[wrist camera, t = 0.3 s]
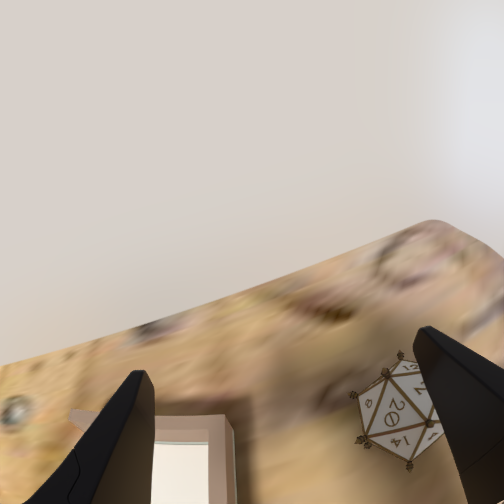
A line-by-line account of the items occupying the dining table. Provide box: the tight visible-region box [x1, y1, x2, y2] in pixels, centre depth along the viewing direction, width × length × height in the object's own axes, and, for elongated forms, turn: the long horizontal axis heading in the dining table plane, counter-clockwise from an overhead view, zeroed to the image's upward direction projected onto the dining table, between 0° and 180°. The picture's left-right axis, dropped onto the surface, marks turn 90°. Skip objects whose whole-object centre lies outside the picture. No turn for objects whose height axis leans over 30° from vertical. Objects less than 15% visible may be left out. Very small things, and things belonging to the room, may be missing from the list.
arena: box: [68, 409, 237, 504], centre depth 15 cm, size 13×14×4 cm
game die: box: [347, 350, 444, 473], centre depth 17 cm, size 9×8×10 cm
